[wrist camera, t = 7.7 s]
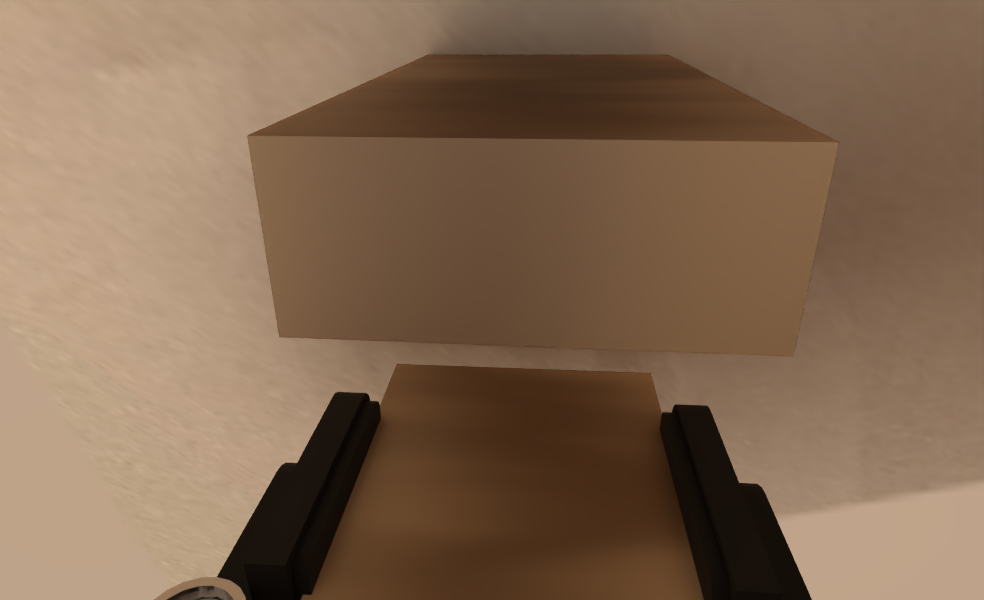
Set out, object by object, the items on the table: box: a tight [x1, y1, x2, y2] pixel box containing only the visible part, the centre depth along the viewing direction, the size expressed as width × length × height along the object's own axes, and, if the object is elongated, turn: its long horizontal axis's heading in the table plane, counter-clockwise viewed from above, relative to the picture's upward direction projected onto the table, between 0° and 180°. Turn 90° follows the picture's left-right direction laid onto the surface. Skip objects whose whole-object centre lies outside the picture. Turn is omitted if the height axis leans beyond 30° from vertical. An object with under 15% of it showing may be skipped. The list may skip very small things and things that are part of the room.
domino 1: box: [247, 55, 839, 356], centre depth 10 cm, size 5×2×9 cm, turn 91°
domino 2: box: [301, 364, 704, 600], centre depth 9 cm, size 5×2×9 cm, turn 91°
